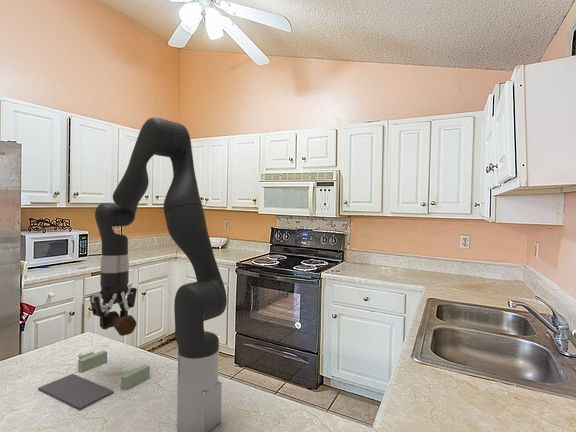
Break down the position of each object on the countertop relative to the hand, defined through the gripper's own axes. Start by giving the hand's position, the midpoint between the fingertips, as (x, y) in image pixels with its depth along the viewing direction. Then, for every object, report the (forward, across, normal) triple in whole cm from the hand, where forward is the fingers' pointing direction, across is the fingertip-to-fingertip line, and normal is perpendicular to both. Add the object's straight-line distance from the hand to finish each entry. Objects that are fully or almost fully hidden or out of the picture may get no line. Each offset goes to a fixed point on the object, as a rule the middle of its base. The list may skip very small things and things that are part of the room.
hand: (114, 325), depth 100 cm
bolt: (+1, 0, -1) cm, 1 cm away
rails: (+15, 0, +3) cm, 15 cm away
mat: (+15, -11, 0) cm, 18 cm away
